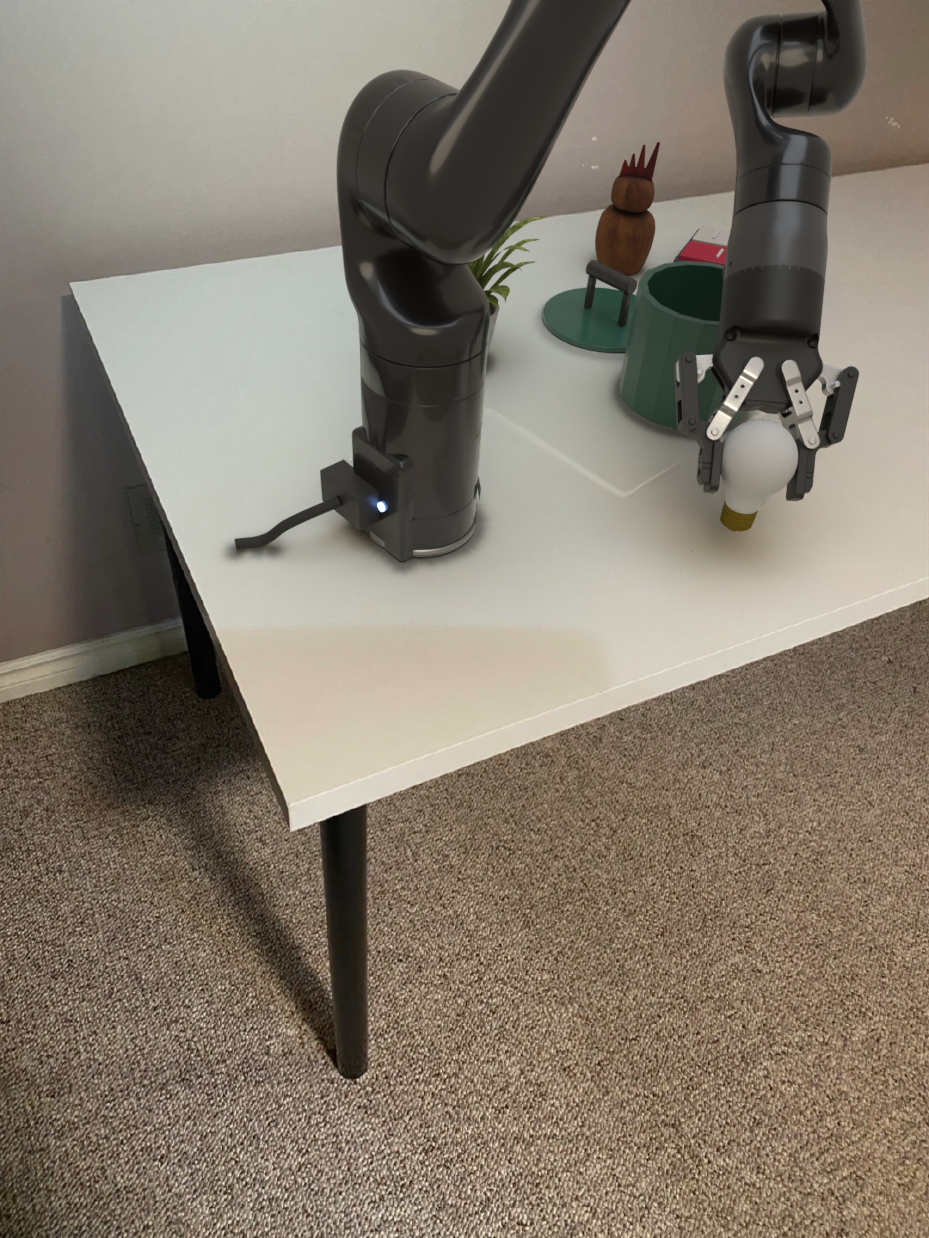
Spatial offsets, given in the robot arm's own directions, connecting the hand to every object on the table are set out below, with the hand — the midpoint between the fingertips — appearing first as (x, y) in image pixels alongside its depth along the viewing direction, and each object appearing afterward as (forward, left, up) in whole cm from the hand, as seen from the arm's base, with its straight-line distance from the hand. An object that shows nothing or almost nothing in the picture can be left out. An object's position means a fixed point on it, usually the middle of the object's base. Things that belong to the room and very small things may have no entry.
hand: (753, 495), depth 71 cm
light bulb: (+1, +1, -5) cm, 5 cm away
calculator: (+43, +30, -7) cm, 53 cm away
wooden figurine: (+33, +41, -7) cm, 53 cm away
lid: (+21, +33, -6) cm, 40 cm away
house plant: (+4, +36, -7) cm, 37 cm away
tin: (+16, +18, -7) cm, 25 cm away
